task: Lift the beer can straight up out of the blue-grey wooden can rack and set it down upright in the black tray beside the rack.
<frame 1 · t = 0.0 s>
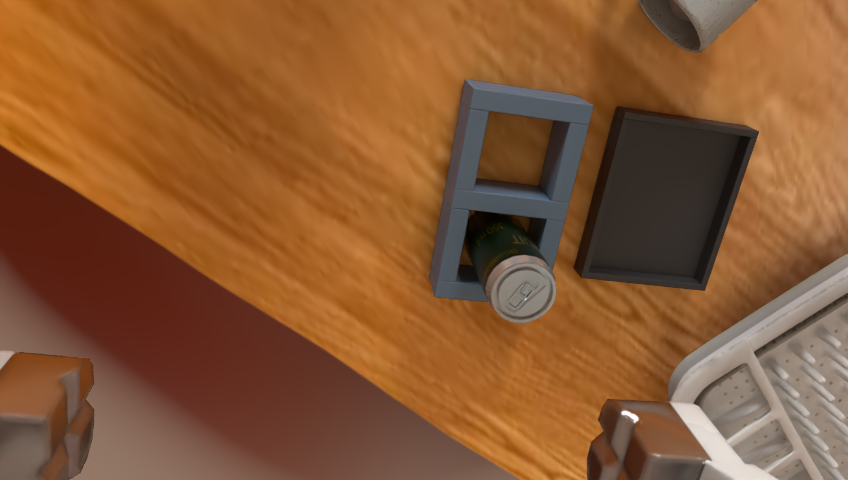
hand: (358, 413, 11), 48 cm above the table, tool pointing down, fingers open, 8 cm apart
can rack: (500, 190, 61), on the table
tray: (657, 198, 63), on the table
dish rack: (835, 361, 73), on the table
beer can: (491, 232, 63), resting in can rack
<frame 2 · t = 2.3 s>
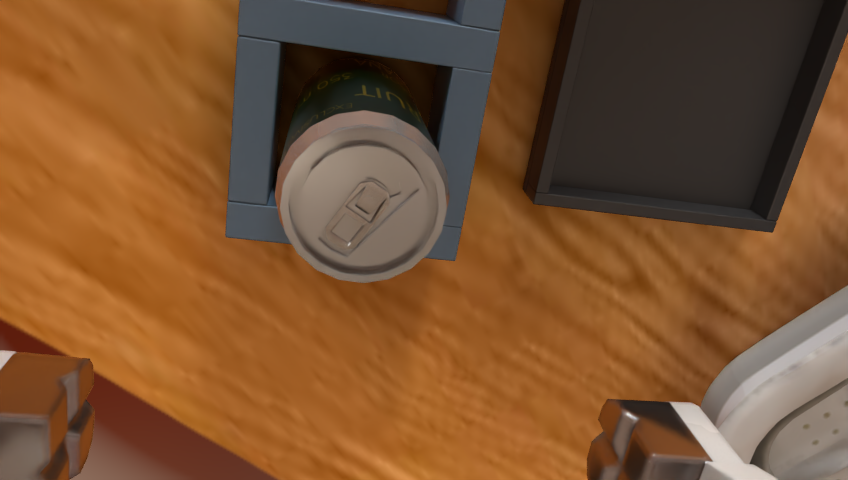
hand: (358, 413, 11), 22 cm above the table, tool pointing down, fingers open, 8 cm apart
can rack: (367, 22, 30), on the table
tray: (684, 49, 32), on the table
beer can: (355, 114, 32), resting in can rack
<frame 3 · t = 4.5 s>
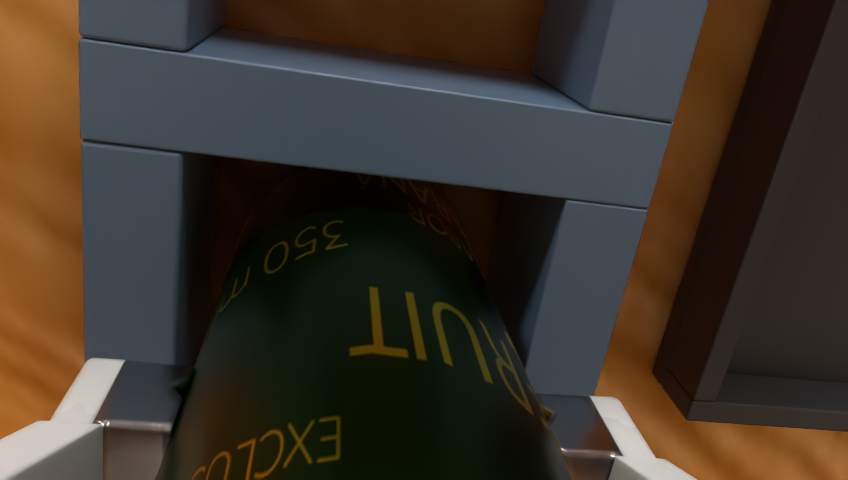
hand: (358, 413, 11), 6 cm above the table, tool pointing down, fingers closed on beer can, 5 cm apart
can rack: (377, 88, 15), on the table
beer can: (353, 256, 17), resting in can rack, touching gripper
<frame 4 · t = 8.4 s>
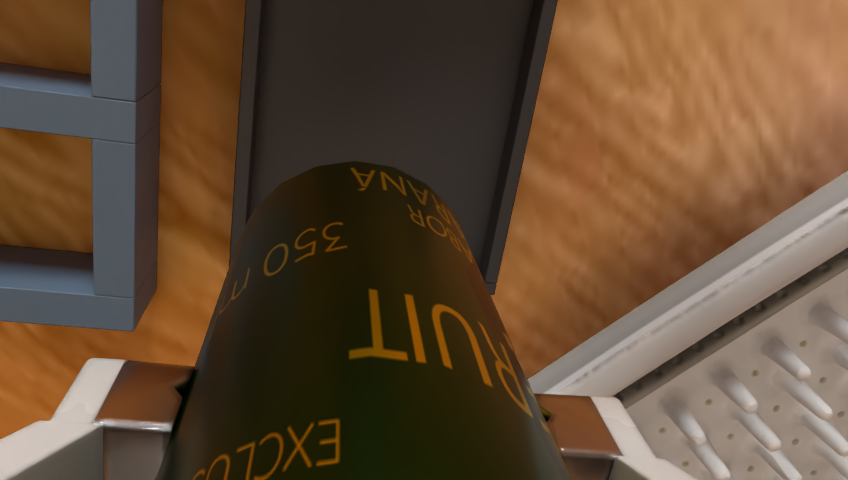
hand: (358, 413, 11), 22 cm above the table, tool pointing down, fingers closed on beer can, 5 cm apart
can rack: (38, 86, 29), on the table
tray: (385, 109, 31), on the table
dish rack: (767, 420, 41), on the table
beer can: (353, 257, 17), point 15 cm above the table, touching gripper
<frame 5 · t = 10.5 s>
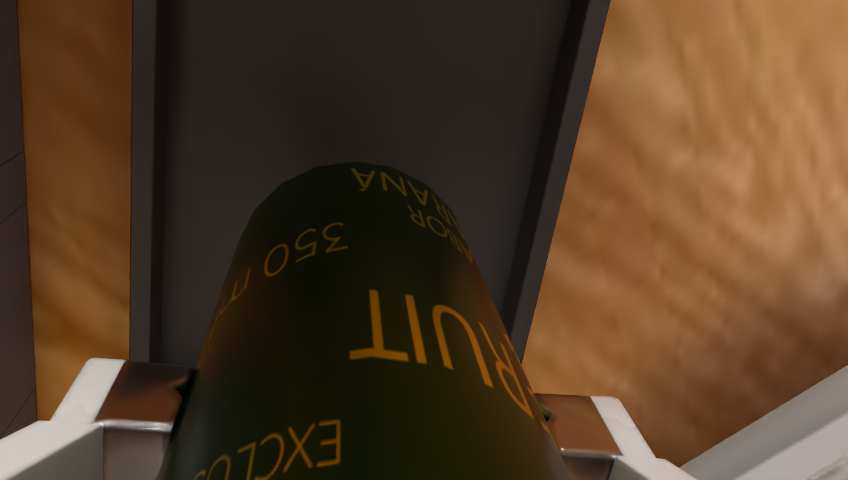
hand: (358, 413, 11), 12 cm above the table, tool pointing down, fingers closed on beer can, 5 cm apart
tray: (352, 183, 22), on the table
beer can: (353, 257, 17), point 6 cm above the table, touching gripper
when the fingers open (7 cm above the table, at t = 12.3 s): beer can stays where it is, resting on tray.
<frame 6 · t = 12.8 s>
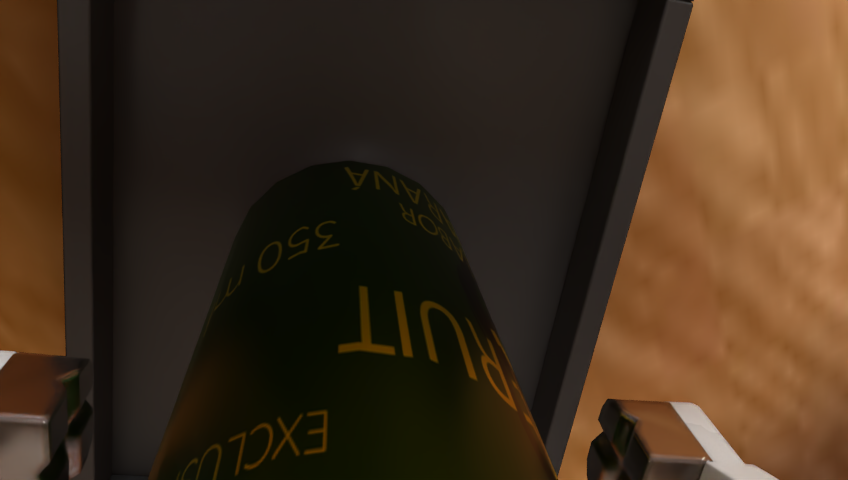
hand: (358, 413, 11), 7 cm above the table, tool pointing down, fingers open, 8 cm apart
tray: (350, 246, 18), on the table
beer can: (348, 255, 17), resting on tray
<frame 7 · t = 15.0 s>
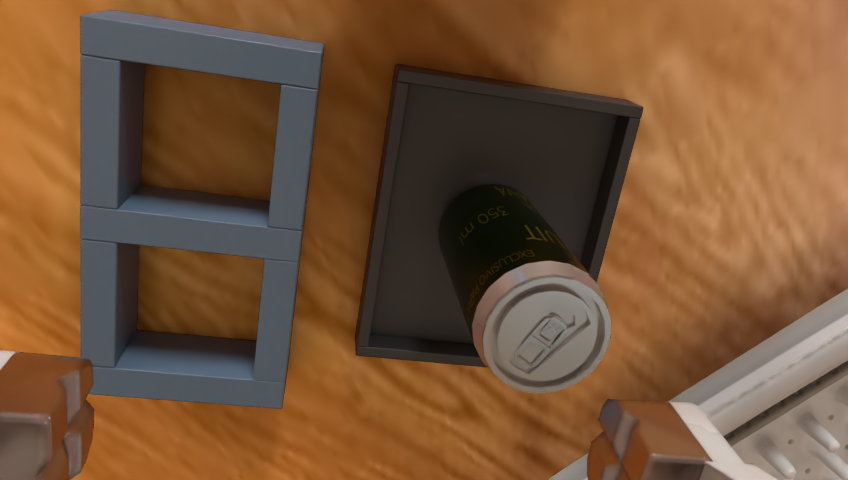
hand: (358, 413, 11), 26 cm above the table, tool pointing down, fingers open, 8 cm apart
can rack: (208, 207, 36), on the table
tray: (485, 223, 38), on the table
dish rack: (796, 476, 47), on the table
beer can: (485, 227, 38), resting on tray
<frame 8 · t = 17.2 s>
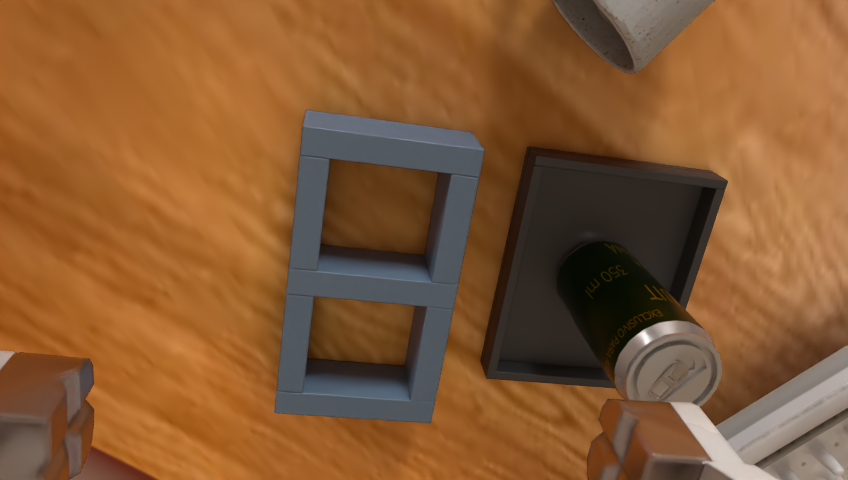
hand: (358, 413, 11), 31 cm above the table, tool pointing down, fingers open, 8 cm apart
can rack: (370, 261, 44), on the table
tray: (591, 269, 46), on the table
dish rack: (835, 470, 56), on the table
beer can: (592, 273, 46), resting on tray
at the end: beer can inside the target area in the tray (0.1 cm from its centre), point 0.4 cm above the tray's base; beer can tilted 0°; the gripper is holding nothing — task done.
